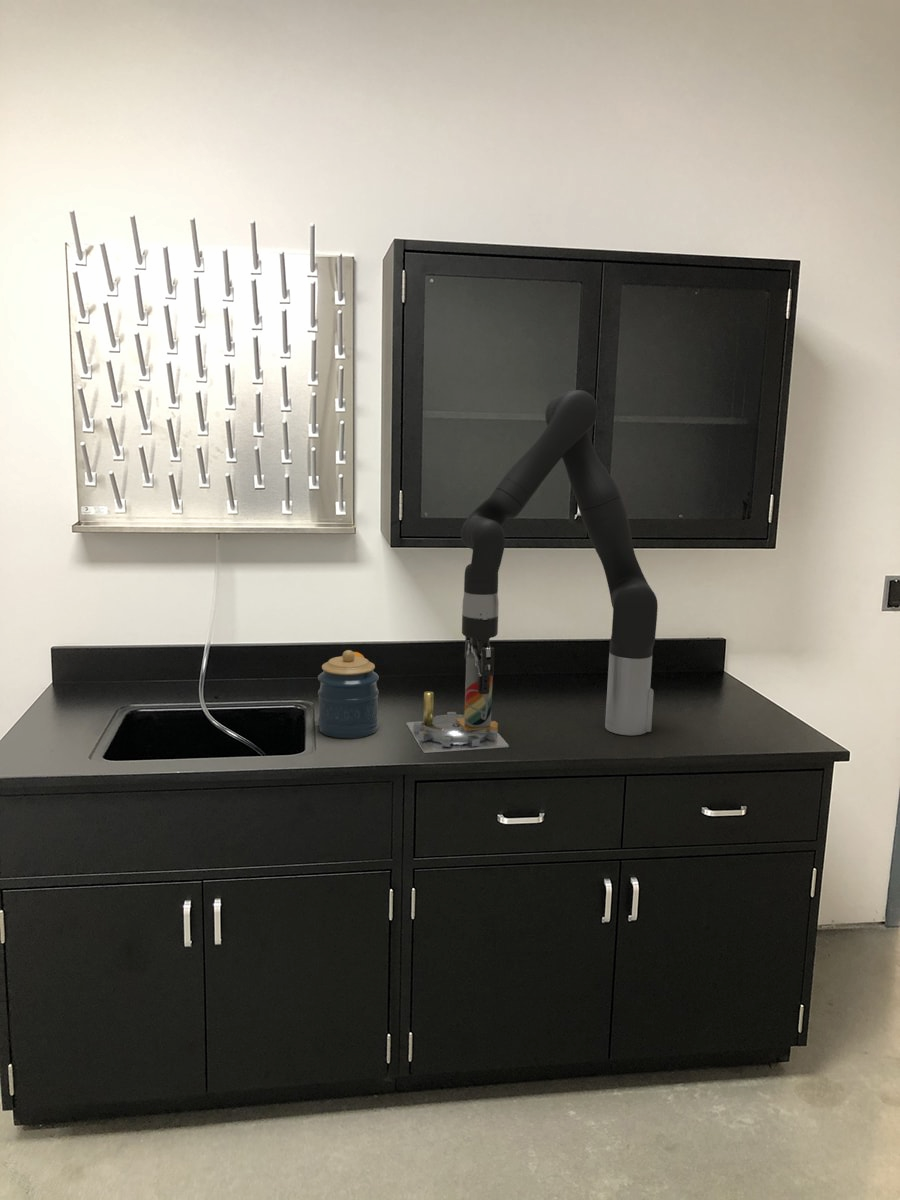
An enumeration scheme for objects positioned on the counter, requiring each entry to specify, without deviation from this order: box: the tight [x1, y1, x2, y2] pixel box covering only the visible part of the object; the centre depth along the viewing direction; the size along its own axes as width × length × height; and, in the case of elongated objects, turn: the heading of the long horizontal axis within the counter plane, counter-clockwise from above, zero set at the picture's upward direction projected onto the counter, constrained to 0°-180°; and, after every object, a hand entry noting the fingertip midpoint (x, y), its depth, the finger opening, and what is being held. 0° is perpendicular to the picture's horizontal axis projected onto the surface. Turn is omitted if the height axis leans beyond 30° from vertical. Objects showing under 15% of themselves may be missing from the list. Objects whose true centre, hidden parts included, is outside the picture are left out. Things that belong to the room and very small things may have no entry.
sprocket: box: [413, 691, 499, 747], centre depth 200 cm, size 18×18×8 cm
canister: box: [317, 649, 380, 739], centre depth 201 cm, size 13×13×18 cm
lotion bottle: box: [463, 638, 494, 728], centre depth 199 cm, size 6×6×20 cm
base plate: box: [406, 720, 510, 754], centre depth 201 cm, size 18×18×1 cm
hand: (478, 687), depth 199 cm, fingers open, 8 cm apart
